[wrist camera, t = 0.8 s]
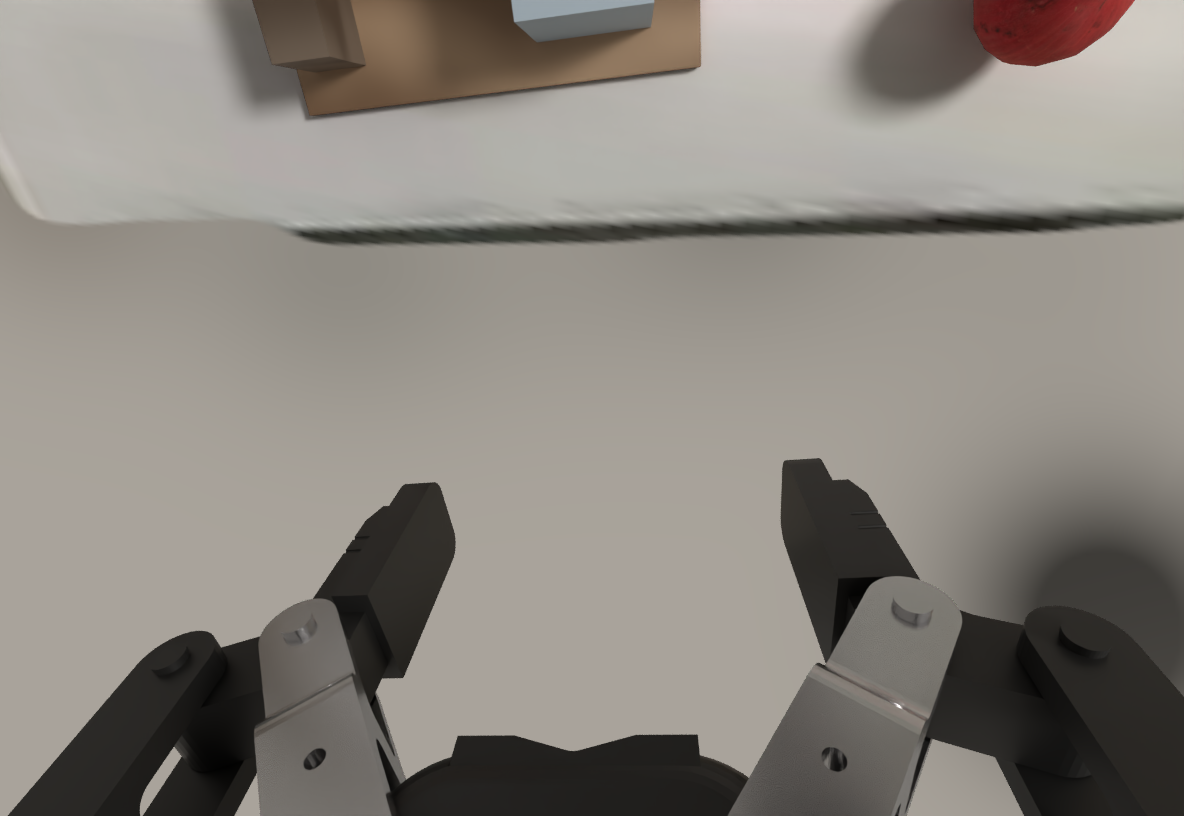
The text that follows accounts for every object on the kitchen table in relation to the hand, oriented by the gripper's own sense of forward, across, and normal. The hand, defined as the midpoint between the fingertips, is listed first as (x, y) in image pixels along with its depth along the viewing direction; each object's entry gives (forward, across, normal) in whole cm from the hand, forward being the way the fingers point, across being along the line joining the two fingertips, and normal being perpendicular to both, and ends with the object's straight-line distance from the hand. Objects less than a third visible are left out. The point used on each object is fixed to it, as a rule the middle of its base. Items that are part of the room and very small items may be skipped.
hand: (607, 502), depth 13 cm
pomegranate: (+25, -20, -10) cm, 34 cm away
